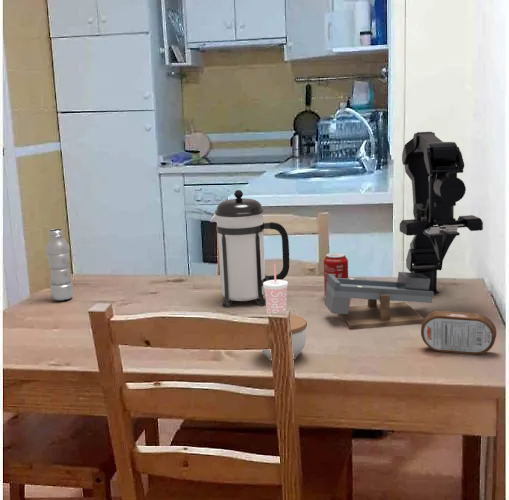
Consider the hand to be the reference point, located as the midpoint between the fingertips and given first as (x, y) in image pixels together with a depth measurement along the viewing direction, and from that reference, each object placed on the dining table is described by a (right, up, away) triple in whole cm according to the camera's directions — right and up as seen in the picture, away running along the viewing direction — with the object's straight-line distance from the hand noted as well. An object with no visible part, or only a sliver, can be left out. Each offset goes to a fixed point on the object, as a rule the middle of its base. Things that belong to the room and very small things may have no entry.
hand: (440, 260), depth 170 cm
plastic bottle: (-99, -12, +29) cm, 104 cm away
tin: (-3, -19, -23) cm, 30 cm away
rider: (-7, -8, +1) cm, 10 cm away
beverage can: (-23, -11, +18) cm, 31 cm away
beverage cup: (-39, -14, +4) cm, 42 cm away
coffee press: (-46, -11, +20) cm, 52 cm away
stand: (-15, -14, +1) cm, 20 cm away
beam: (-15, -12, +1) cm, 20 cm away
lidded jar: (-39, -20, -21) cm, 49 cm away
